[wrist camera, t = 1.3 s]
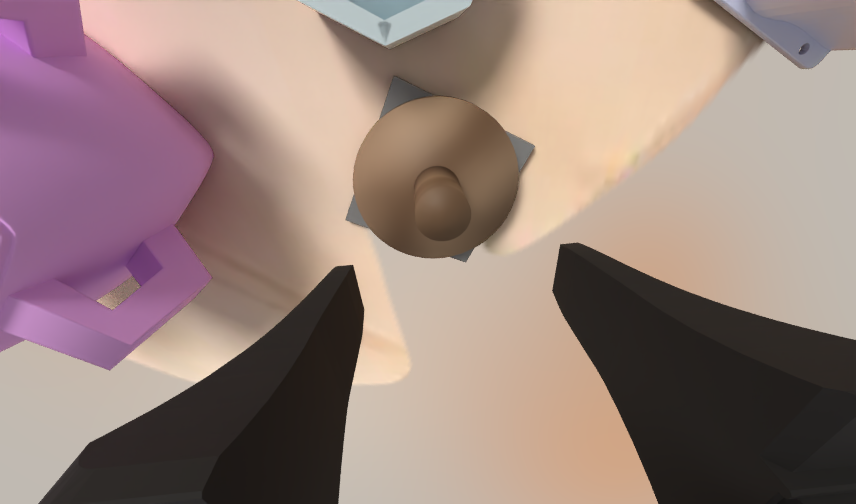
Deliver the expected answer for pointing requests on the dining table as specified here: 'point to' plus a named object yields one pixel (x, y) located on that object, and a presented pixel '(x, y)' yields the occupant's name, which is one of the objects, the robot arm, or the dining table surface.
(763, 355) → the robot arm
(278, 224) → the dining table surface
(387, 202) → the lid
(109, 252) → the teakettle
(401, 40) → the bowl
